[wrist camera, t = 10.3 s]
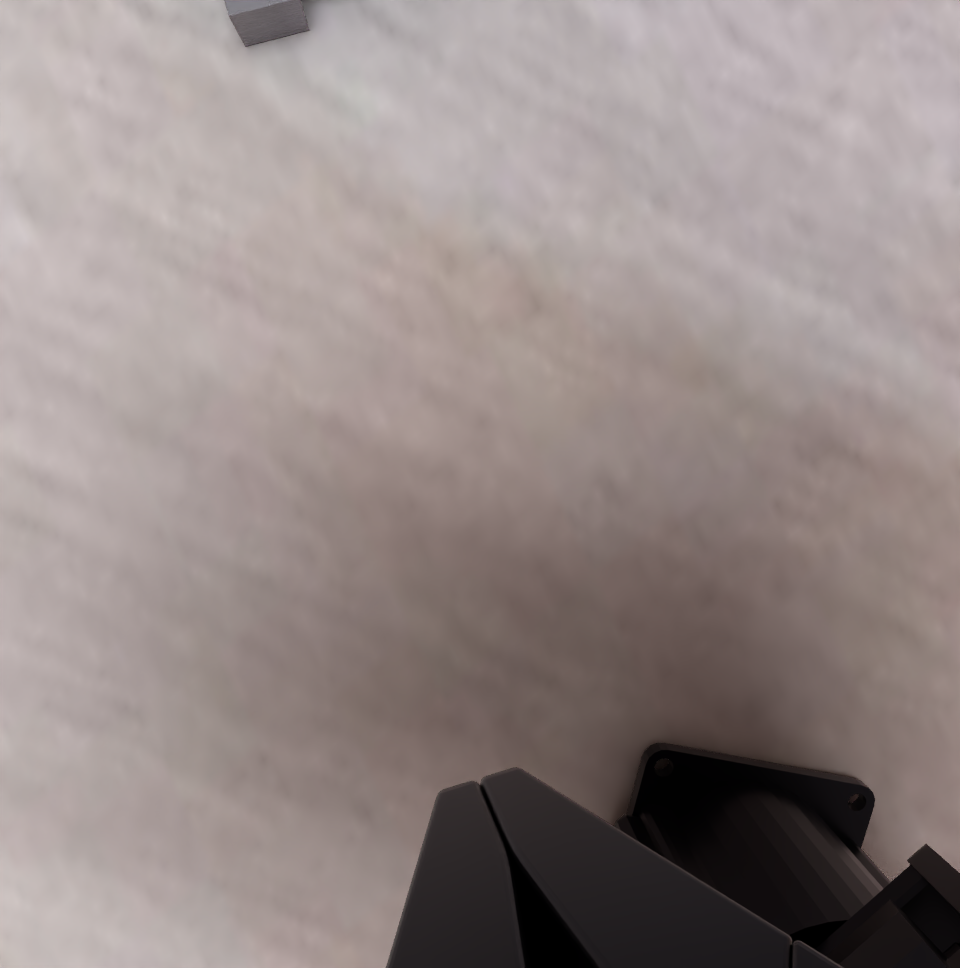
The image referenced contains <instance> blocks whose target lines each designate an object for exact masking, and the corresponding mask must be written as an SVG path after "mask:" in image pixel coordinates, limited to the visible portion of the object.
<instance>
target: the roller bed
mask: <svg viewBox="0 0 960 968" xmlns="http://www.w3.org/2000/svg"><path fill="white" fill-rule="evenodd" d="M224 1H225V5H226V8H227V11H228V15H229V17H230V19H231V21H232V23H233V25H234V26H235V28H236V30H237V32H238V34H239V36H240V37H241V39H242V41H243V43H244V45H245V46H249V45H253V44H257V43H261V42H264V41H268V40H272V39H276V38H280V37H284V36H288V35H292V34H296V33H300V32H303V31H307V30H309V27H308V24H307V20H306V16H305V13H304V9H303V6H302V2H301V0H224Z"/></svg>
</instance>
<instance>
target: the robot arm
mask: <svg viewBox="0 0 960 968" xmlns="http://www.w3.org/2000/svg"><path fill="white" fill-rule="evenodd" d="M666 758H667V759H669V763H668V764H667V766H666V767H664V768H663V769H655V764H656V763H657V761H659V760H660V759H666ZM854 794H858V798H857V799H856V801H854V802H853V803H848V800H849V799H850V797H851V796H853V795H854ZM874 803H875V798H874V794H873V792H872V791H871V790H870V789H869V788H868V787H867V786H866V785H865V784H864V783H863V782H862V781H861V780H858V779H856V778H852V777H846V776H841V775H835V774H830V773H824V772H819V771H814V770H808V769H803V768H797V767H792V766H786V765H781V764H776V763H770V762H765V761H759V760H754V759H748V758H743V757H737V756H732V755H727V754H721V753H716V752H710V751H705V750H699V749H694V748H689V747H683V746H678V745H672V744H667V743H656V744H654V745H651V746H650V747H649V748H647V749H646V750H645V752H644V754H643V756H642V758H641V762H640V766H639V769H638V773H637V777H636V781H635V784H634V788H633V792H632V795H631V799H630V803H629V807H628V810H627V814H624V815H623V816H622V817H620V818H619V819H618V820H617V821H616V822H615V825H614V826H613V825H611V824H609V823H608V822H606V821H605V820H603V819H601V818H600V817H598V816H596V815H595V814H593V813H592V812H590V811H588V810H587V809H585V808H584V807H582V806H580V805H579V804H577V803H576V802H574V801H572V800H571V799H569V798H568V797H566V796H564V795H563V794H561V793H560V792H558V791H556V790H555V789H553V788H551V787H550V786H548V785H547V784H545V783H543V782H542V781H540V780H539V779H537V778H535V777H534V776H532V775H531V774H529V773H527V772H526V771H524V770H523V769H520V768H517V767H515V768H510V769H507V770H504V771H501V772H498V773H494V774H491V775H488V776H485V777H483V779H482V780H481V783H480V785H479V784H478V783H477V782H476V781H469V782H466V783H462V784H459V785H456V786H453V787H449V788H446V789H443V790H441V791H440V792H439V793H438V795H437V798H436V800H435V804H434V807H433V811H432V814H431V817H430V821H429V824H428V827H427V831H426V834H425V838H424V841H423V844H422V848H421V851H420V854H419V858H418V861H417V865H416V868H415V871H414V875H413V878H412V881H411V885H410V888H409V892H408V895H407V898H406V902H405V905H404V908H403V912H402V915H401V919H400V922H399V925H398V929H397V932H396V936H395V939H394V942H393V946H392V949H391V952H390V956H389V959H388V963H387V966H386V968H960V873H959V872H958V871H957V870H955V869H954V868H953V867H952V866H951V865H950V864H949V863H947V862H946V861H945V860H944V859H943V858H942V857H941V856H940V855H938V854H937V853H936V852H935V851H934V850H933V849H932V848H930V847H929V846H928V845H927V844H925V845H924V846H923V847H922V848H920V849H919V850H918V851H917V852H916V853H915V854H914V855H912V856H911V857H910V858H909V859H908V860H907V861H908V862H909V863H910V864H911V865H910V866H909V867H908V868H907V869H905V870H904V871H903V872H902V873H901V874H900V875H899V876H897V877H896V878H895V879H894V880H893V881H892V882H890V881H889V879H888V878H887V877H886V876H885V875H884V874H883V873H882V872H881V871H880V869H879V868H878V867H877V866H876V865H875V864H874V863H873V862H872V861H871V860H870V858H869V857H868V856H867V855H866V854H865V853H864V852H863V851H862V850H861V846H862V843H863V840H864V837H865V833H866V830H867V827H868V824H869V821H870V817H871V814H872V811H873V808H874Z"/></svg>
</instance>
